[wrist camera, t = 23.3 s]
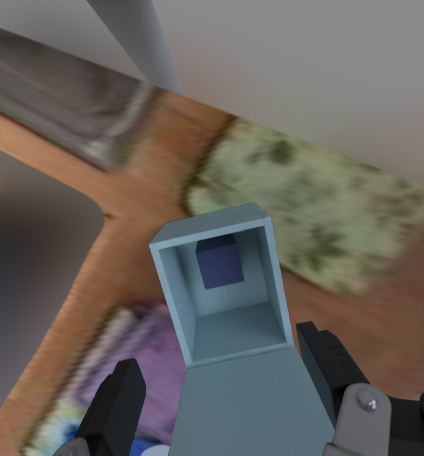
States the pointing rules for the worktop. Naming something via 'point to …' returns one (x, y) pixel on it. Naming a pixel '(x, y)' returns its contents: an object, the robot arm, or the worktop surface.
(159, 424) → the worktop surface
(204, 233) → the light blue storage bin
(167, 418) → the worktop surface
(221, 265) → the block
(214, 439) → the lid
